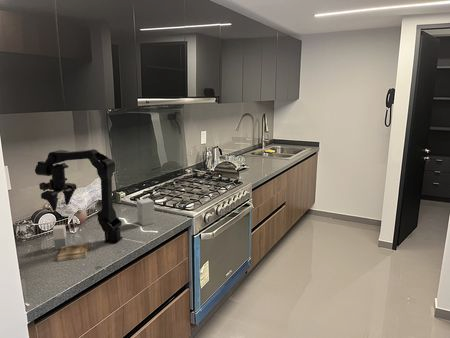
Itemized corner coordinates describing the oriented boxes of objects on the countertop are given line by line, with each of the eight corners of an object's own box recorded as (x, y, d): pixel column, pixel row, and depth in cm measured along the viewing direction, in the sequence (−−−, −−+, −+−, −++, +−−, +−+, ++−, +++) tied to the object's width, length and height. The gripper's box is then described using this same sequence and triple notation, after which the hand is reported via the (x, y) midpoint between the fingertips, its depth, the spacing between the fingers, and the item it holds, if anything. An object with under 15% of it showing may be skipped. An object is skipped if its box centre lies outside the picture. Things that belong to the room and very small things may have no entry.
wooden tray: (88, 246, 158) (87, 242, 157) (85, 257, 147) (85, 252, 147) (62, 249, 155) (61, 245, 154) (57, 260, 144) (57, 256, 144)
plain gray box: (67, 244, 160) (65, 224, 158) (65, 248, 156) (63, 228, 154) (57, 245, 159) (54, 225, 157) (55, 249, 155) (52, 229, 153)
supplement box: (155, 223, 185) (154, 201, 183) (142, 226, 181) (140, 203, 179) (150, 219, 191) (148, 197, 189) (137, 222, 187) (136, 200, 185)
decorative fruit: (91, 223, 186) (89, 206, 184) (77, 228, 179) (75, 210, 177) (81, 220, 191) (79, 203, 189) (67, 225, 184) (65, 207, 182)
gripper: (56, 171, 173) (58, 200, 176) (29, 180, 155) (32, 212, 158) (76, 172, 171) (78, 202, 174) (50, 182, 153) (53, 214, 156)
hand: (60, 207), depth 166 cm, fingers open, 9 cm apart
